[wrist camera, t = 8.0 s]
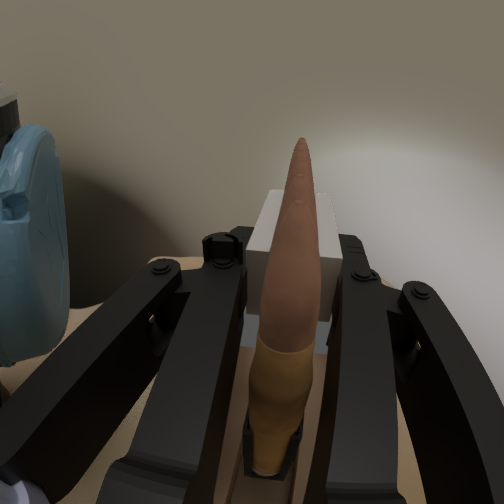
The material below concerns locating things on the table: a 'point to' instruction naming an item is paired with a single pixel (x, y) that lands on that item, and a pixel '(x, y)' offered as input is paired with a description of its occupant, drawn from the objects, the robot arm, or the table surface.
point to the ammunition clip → (285, 331)
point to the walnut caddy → (236, 421)
